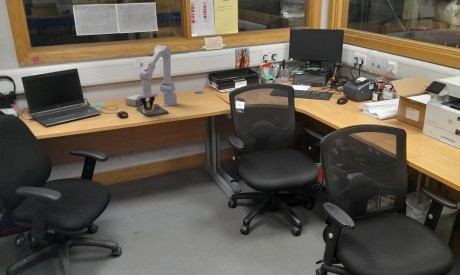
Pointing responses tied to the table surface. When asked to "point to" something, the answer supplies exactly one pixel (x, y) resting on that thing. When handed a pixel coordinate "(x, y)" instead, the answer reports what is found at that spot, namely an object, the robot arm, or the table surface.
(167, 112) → the fitting board
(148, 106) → the brass cylinder
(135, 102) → the ink cartridge box
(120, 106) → the table surface
